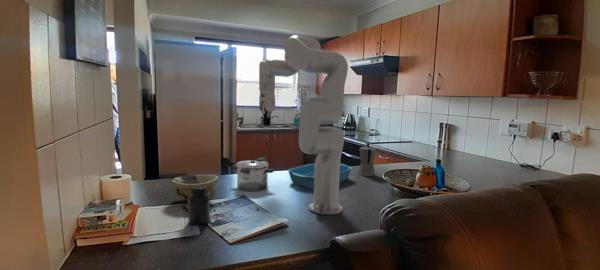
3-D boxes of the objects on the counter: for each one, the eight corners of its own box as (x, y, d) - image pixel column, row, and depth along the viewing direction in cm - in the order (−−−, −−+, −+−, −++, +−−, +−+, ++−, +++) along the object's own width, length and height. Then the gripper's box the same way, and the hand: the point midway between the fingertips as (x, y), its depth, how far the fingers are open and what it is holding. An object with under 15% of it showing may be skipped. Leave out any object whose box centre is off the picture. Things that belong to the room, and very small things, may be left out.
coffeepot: (357, 171, 191) (358, 141, 189) (373, 172, 190) (375, 141, 188) (359, 178, 176) (361, 145, 174) (377, 178, 175) (379, 145, 173)
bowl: (226, 196, 137) (226, 174, 136) (202, 210, 120) (202, 185, 118) (189, 192, 141) (189, 170, 140) (161, 205, 124) (161, 180, 123)
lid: (260, 170, 142) (260, 165, 142) (230, 167, 147) (230, 162, 146) (277, 161, 161) (277, 157, 161) (250, 159, 166) (250, 155, 165)
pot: (264, 194, 142) (264, 171, 141) (224, 189, 148) (224, 167, 146) (277, 185, 156) (277, 165, 155) (240, 181, 162) (240, 161, 161)
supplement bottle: (202, 216, 114) (201, 183, 113) (213, 221, 110) (213, 186, 108) (184, 221, 109) (183, 186, 107) (195, 227, 104) (195, 191, 103)
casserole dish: (315, 194, 145) (316, 178, 144) (279, 184, 160) (279, 170, 159) (358, 179, 173) (358, 166, 172) (324, 172, 188) (324, 160, 187)
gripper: (268, 86, 148) (268, 126, 150) (279, 88, 162) (279, 125, 164) (253, 86, 150) (253, 126, 152) (265, 88, 165) (265, 124, 166)
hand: (266, 125), depth 158 cm, fingers closed
